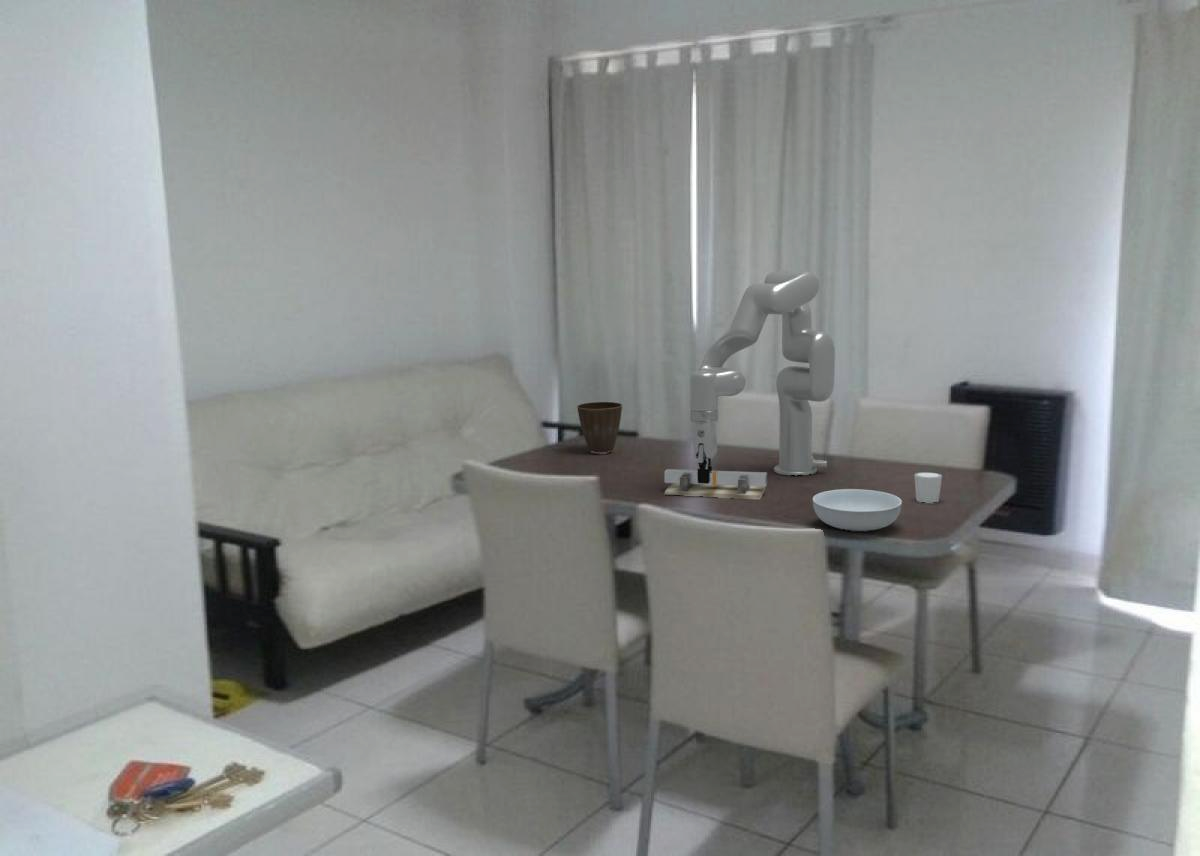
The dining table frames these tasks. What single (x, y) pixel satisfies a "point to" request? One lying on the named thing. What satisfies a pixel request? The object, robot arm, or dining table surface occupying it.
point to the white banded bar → (718, 477)
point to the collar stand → (716, 489)
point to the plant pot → (600, 424)
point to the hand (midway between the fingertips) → (704, 480)
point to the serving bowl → (857, 509)
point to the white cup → (927, 487)
